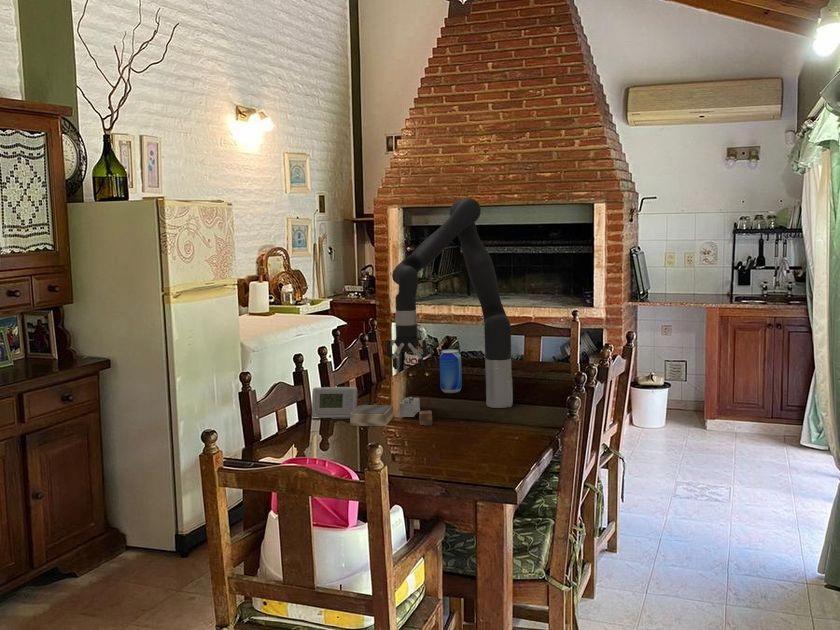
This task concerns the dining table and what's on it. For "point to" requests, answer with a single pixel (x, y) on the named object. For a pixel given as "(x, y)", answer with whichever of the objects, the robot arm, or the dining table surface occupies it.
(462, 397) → the dining table surface
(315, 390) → the digital clock
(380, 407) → the stand
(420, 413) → the walnut block
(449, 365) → the beer can
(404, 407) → the housing
